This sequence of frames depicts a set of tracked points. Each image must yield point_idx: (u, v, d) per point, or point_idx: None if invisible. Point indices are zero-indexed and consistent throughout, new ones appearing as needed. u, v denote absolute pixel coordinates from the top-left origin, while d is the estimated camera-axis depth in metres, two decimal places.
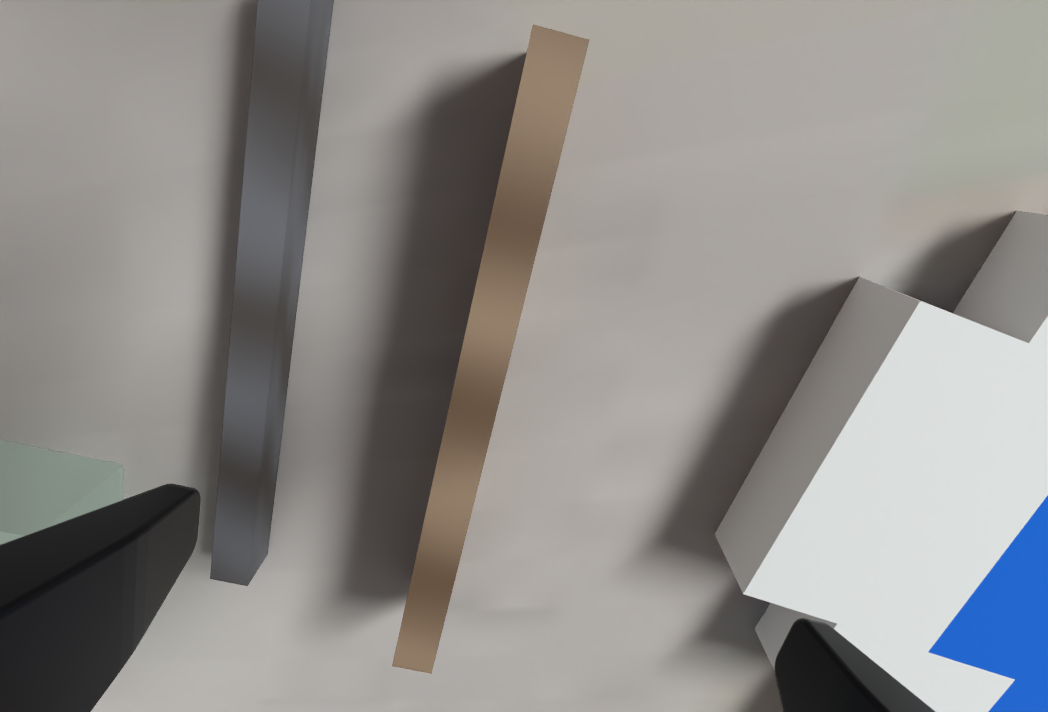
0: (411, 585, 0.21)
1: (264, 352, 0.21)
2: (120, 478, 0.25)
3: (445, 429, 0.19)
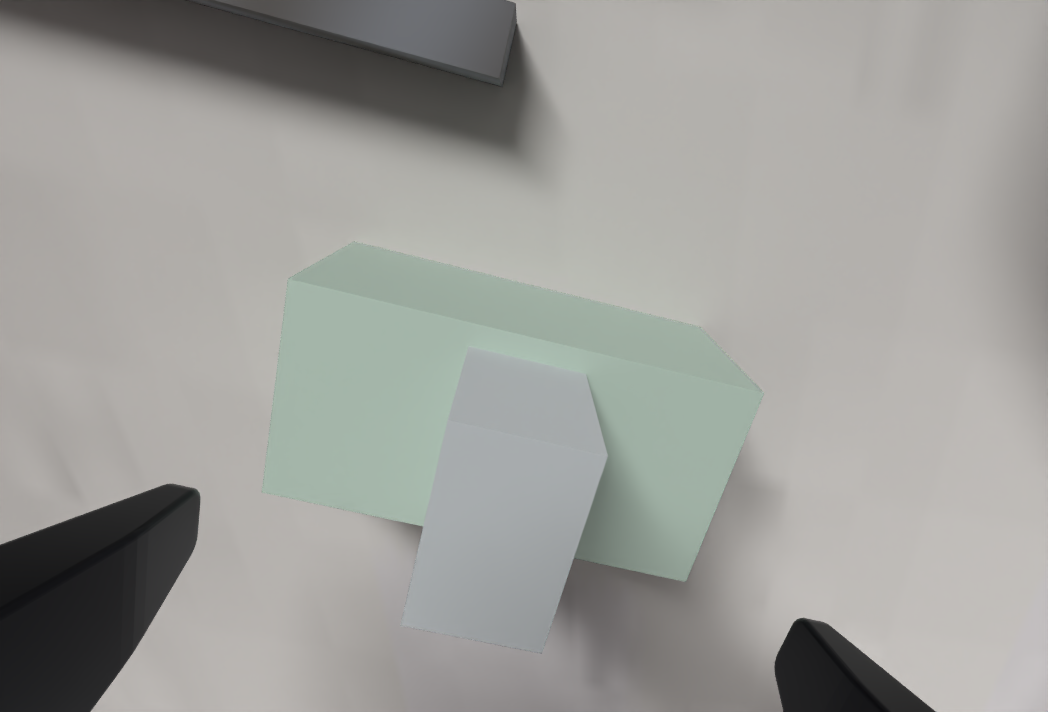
0: None
1: None
2: (371, 247, 0.16)
3: None
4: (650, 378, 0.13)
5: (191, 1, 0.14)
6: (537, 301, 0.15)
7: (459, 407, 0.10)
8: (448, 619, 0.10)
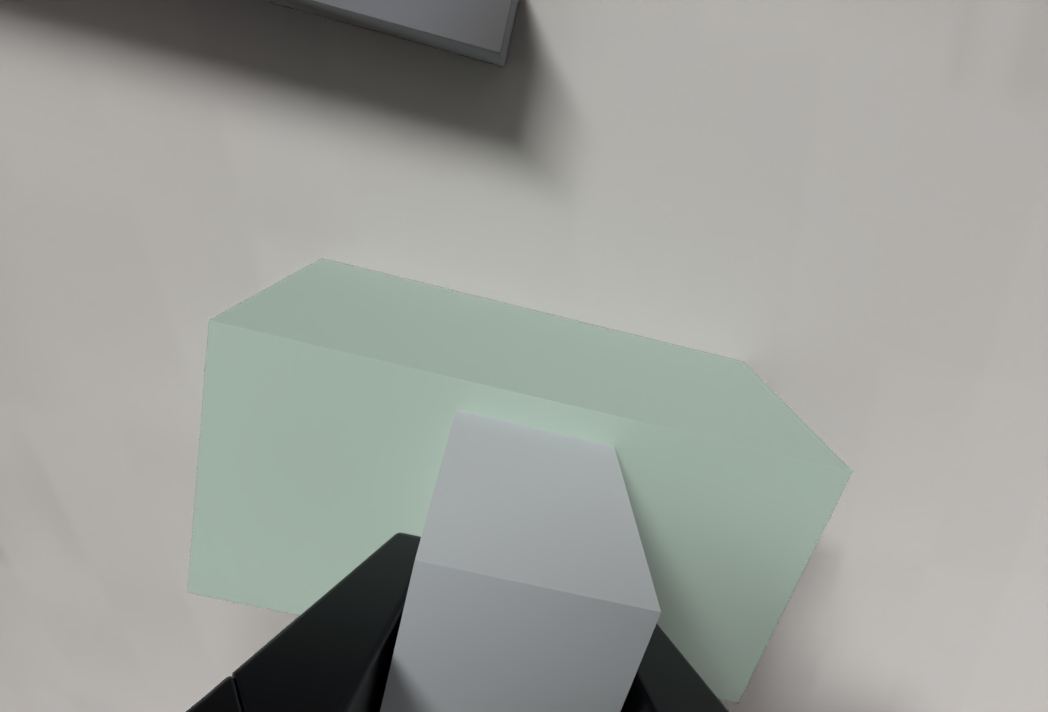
0: None
1: None
2: (340, 266, 0.13)
3: None
4: (700, 452, 0.09)
5: None
6: (547, 337, 0.12)
7: (435, 528, 0.06)
8: None
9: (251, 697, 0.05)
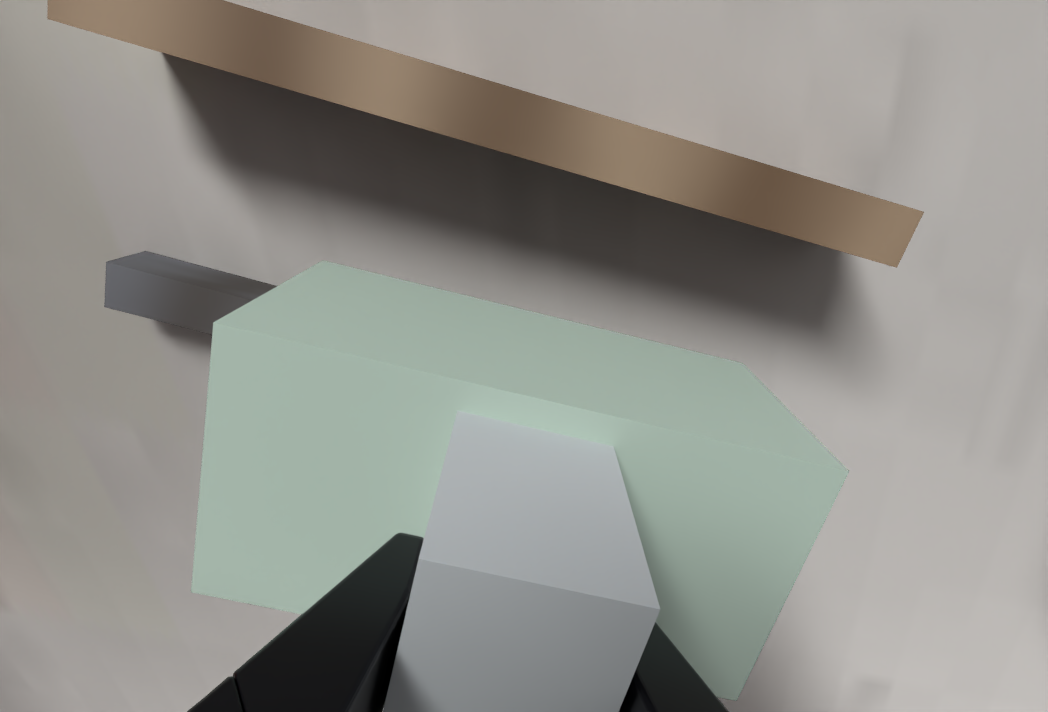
0: (762, 225, 0.16)
1: None
2: (342, 268, 0.13)
3: (528, 157, 0.15)
4: (698, 452, 0.09)
5: None
6: (547, 339, 0.12)
7: (439, 528, 0.06)
8: None
9: (252, 697, 0.05)
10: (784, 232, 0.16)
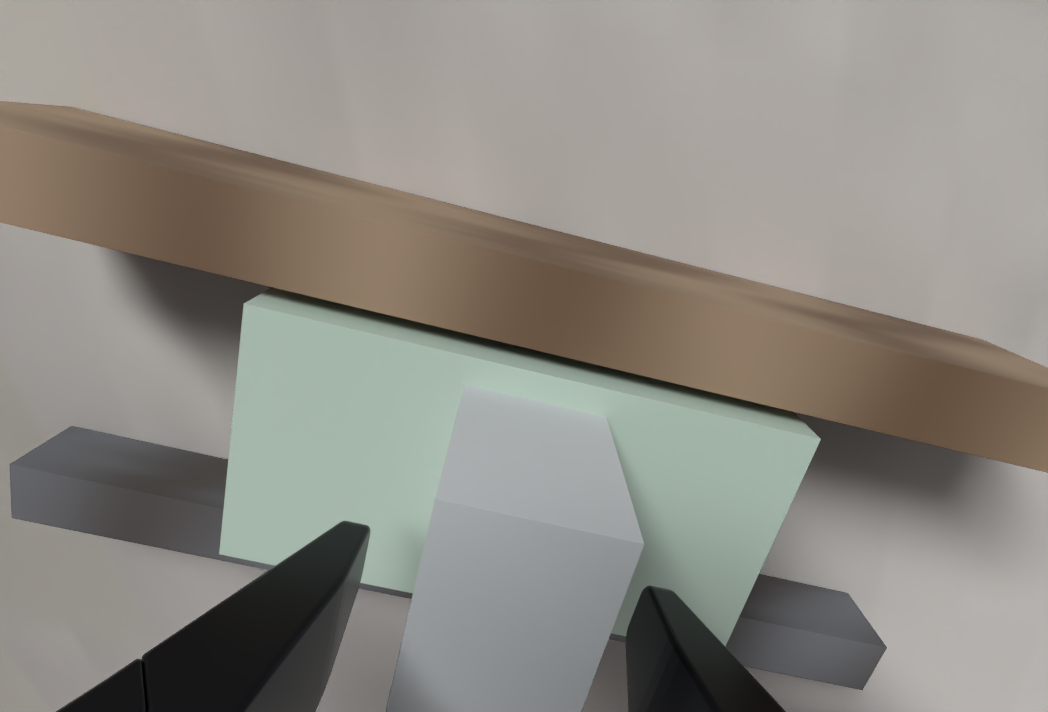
0: (928, 441, 0.11)
1: None
2: None
3: (591, 360, 0.10)
4: (683, 422, 0.10)
5: None
6: None
7: (450, 476, 0.07)
8: None
9: (156, 679, 0.05)
10: (959, 447, 0.11)
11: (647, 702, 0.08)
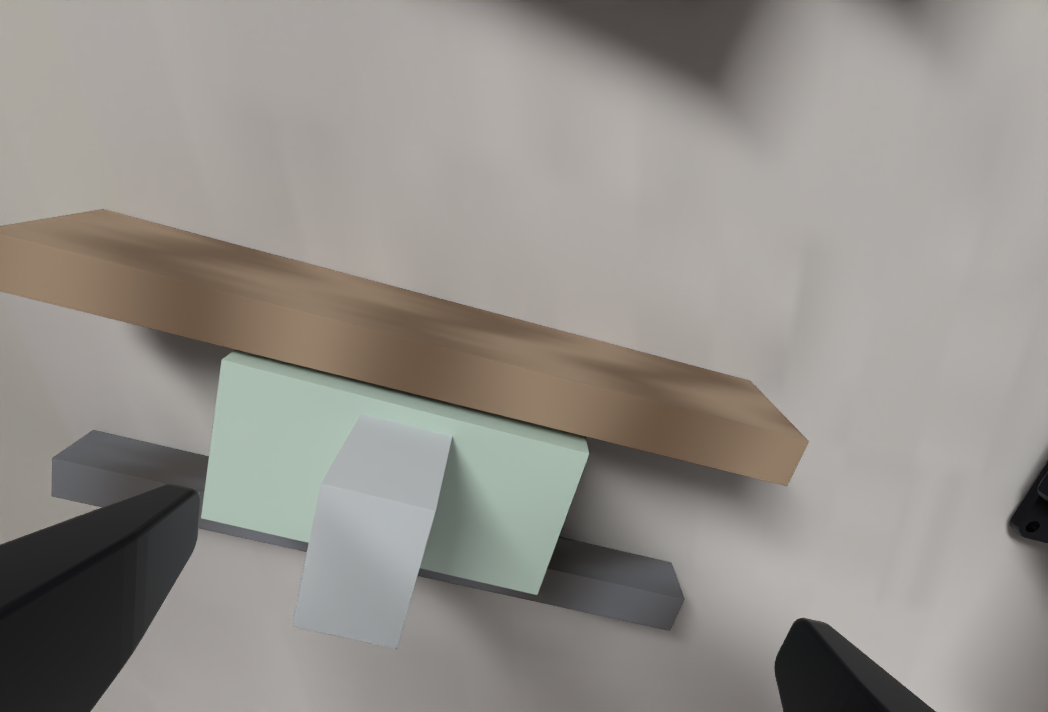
0: (662, 453, 0.17)
1: None
2: None
3: (443, 399, 0.16)
4: (501, 440, 0.16)
5: None
6: None
7: (333, 471, 0.13)
8: (327, 622, 0.14)
9: None
10: (683, 458, 0.17)
11: None
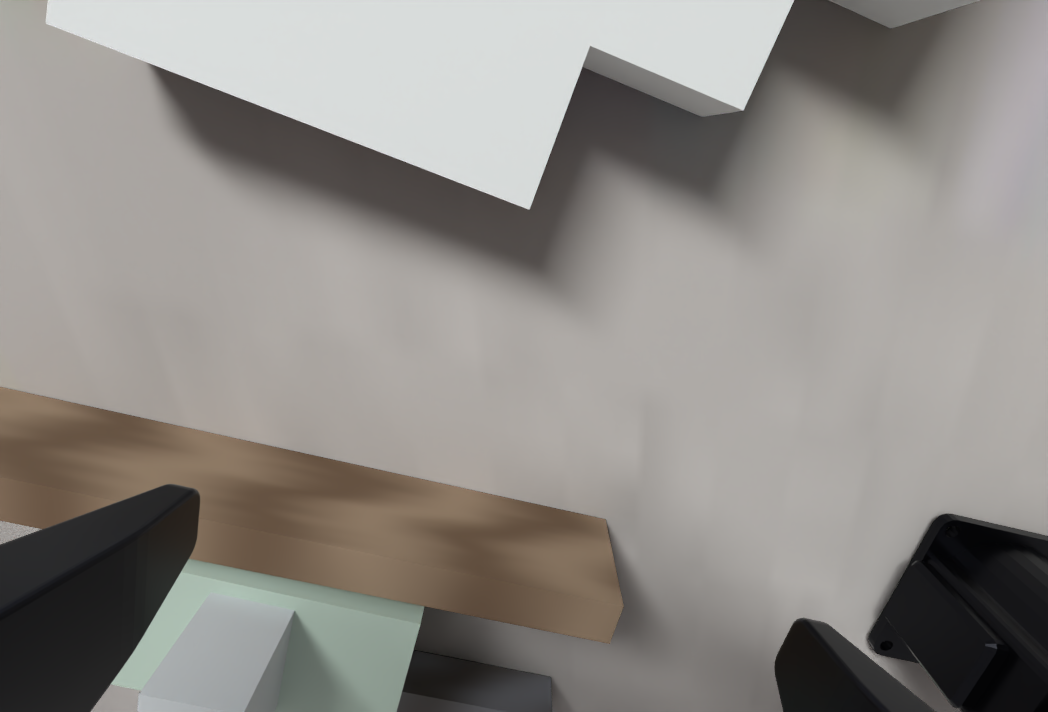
0: (490, 618, 0.18)
1: None
2: None
3: (285, 576, 0.18)
4: (339, 614, 0.18)
5: None
6: None
7: (156, 676, 0.15)
8: None
9: None
10: (510, 621, 0.19)
11: None
